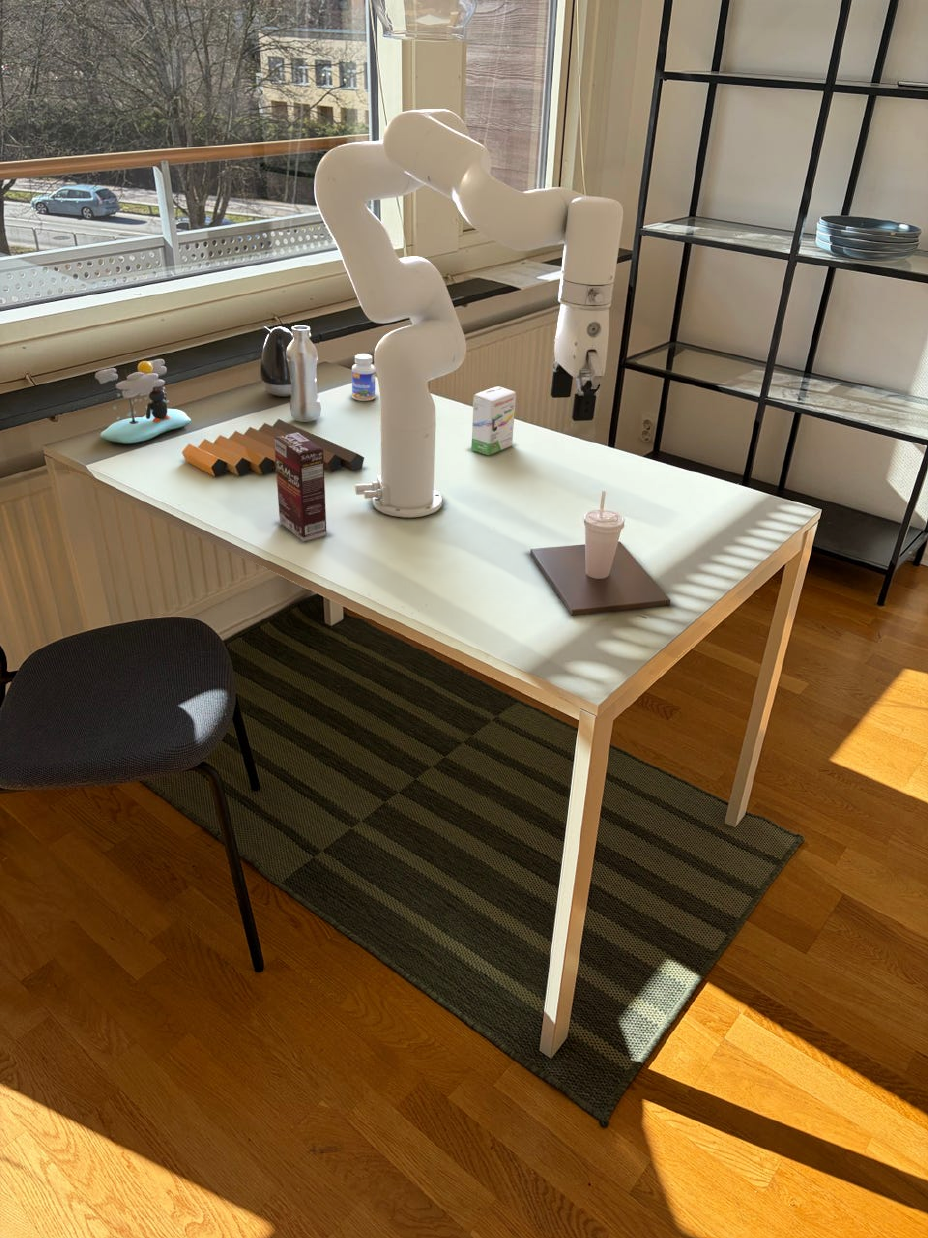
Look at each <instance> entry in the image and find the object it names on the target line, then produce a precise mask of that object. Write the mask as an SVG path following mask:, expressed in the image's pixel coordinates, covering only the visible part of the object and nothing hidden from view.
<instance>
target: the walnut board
mask: <svg viewBox="0 0 928 1238" xmlns="http://www.w3.org/2000/svg"><path fill="white" fill-rule="evenodd" d="M529 555H530V556H531V558H532V559H533V561H534V562H535V564H536V565H537V567H538V568H539V569H540V571H541V573H542V574H543V575H544V577H545V578H546V580H547V582H548V583H549V584H550V586H551V587H552V589H553V590H554V592H555V593H556V595H557V597H558V598H559V600H560V601H561V602H562V603H563V605H564V606H565V608H566V609H567V611H568V612H569V614H570V615H571V616H581V615H591V614H598V613H610V612H618V611H627V610H628V611H629V610H638V609H647V608H656V607H657V608H658V607H665V606H667V607H668V606H670V605H671V598H670V597H669V596H668V595H667V594H666V593H665V592H664V591H663V590H662V588H661V587H660V586H659V585H658V584H657V583H656V581H655V580H654V578H652V577H651V576H650V574H649V573H648V572H647V571H646V570H645V569H644V567H642V565H641V563H640V562H639V561H637V559H636V558H635V557H634V556H633V555H632V554H631V552H630V551H629V550H628V549H627V548H626V546H625V545H624V544H623V543H622V542H621V541H619V540H618V544H617V547H616V551H615V554H614V558H613V562H612V565H611V569H610V573H609V576H608V577H606V578H603V579H596V578H592V577H589V576H588V575H587V574H586V558H585V544H575V545H572V544H571V545H563V546H562V545H561V546H551V547H550V546H549V547H542V548H541V547H540V548H531V549H530V554H529Z"/></svg>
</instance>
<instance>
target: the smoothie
mask: <svg viewBox="0 0 928 1238" xmlns="http://www.w3.org/2000/svg"><path fill="white" fill-rule="evenodd" d="M606 493H607V491H605V490H602V491H601V498H600V506H599V509H594V510H593V509H592V510H590V511H588V512H586V513H584V514H583V520H582V524H583V525H584V540H585V541H584V543H585V558H586V574H587V575H588V576H589V577H592V578H596V579H603V578H606V577H608V576H609V573H610V569H611V565H612V562H613V558H614V554H615V551H616V547H617V544H618V541H619V540H620V536H621V532H622V530H624V528H625V521H626V520H625V518H624V517H623V515H621V514H620V513H618V512H615V511H612V510H607V509H605V503H606V502H605V500H606Z"/></svg>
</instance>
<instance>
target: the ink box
mask: <svg viewBox="0 0 928 1238" xmlns="http://www.w3.org/2000/svg"><path fill="white" fill-rule="evenodd" d="M472 397H473V400H472V424H471V425H472V426H471V443H470V445H471V446H470V450H471V451H472V452H476V453H480V454H483V455H485V456H492V455H494V454H496V453H498V452H500V451H503V450H504V449H507V448H509V447H512V446H513V443H514V441H513V439H514V429H515V428H514V425H515V411H516V399H517V392H516V391H514V390H511V389H509V388H505V387H503V386H500V385H499V386H494V387H491V388H489V389H485V390H483V391H480V392H477V393H475V394H474V395H473V396H472Z"/></svg>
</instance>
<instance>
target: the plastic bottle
mask: <svg viewBox="0 0 928 1238" xmlns="http://www.w3.org/2000/svg"><path fill="white" fill-rule="evenodd" d="M291 334H292V337H293V340H292V341H291V343H290V344H289V346H288V348H287V351H286V356H287V361H288V366H289V371H290V378H291V396H290V401H289V413H290V417H292V419H293V420H295V421H297V422H302V423H309V422H310V423H311V422H315V421H317V420H319V418H320V416H321V411H322V407H321V402H320V399H319V392H318V391H319V390H318V384H317V368H318V358H319V357H318V355H319V354H318V350H317V348H316V346H315V344H314V343H313V342H312V340H311V339H310V338H311V337H312V334H311V327H310V326H308V325H294V326H291Z"/></svg>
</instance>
